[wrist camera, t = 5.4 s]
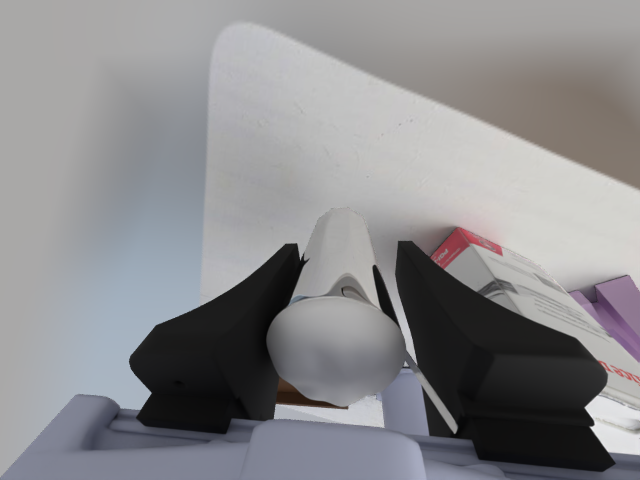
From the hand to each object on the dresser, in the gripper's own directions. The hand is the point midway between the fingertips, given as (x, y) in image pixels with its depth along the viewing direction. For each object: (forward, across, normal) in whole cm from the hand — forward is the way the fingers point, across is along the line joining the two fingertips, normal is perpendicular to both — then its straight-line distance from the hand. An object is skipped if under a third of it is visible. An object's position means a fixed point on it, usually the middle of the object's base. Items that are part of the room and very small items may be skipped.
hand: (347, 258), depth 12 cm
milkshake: (+3, 0, 0) cm, 3 cm away
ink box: (+8, -11, +7) cm, 15 cm away
